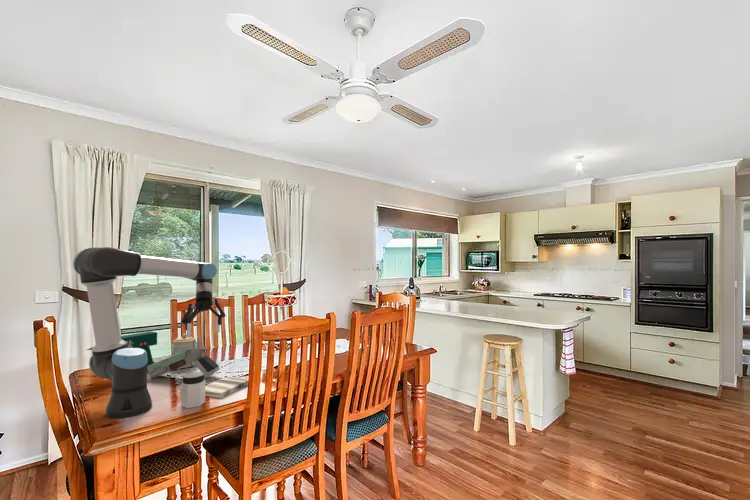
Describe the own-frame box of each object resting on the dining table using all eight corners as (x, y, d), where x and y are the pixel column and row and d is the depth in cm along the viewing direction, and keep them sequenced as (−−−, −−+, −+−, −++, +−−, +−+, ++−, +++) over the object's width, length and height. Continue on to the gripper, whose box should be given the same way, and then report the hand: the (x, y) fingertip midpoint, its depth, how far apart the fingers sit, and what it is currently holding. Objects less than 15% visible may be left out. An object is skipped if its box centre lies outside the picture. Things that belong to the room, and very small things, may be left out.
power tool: (88, 386, 173) (89, 343, 174) (81, 384, 177) (82, 342, 177) (158, 369, 200) (158, 332, 201) (151, 367, 204) (151, 331, 204)
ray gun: (216, 374, 183) (201, 336, 184) (156, 398, 183) (142, 360, 184) (222, 370, 190) (208, 333, 191) (165, 393, 191) (151, 357, 191)
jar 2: (209, 403, 153) (209, 373, 154) (190, 409, 146) (190, 379, 147) (196, 398, 158) (196, 370, 158) (177, 405, 151) (177, 375, 151)
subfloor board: (220, 398, 159) (220, 393, 159) (195, 394, 163) (195, 389, 163) (250, 383, 178) (250, 379, 178) (227, 380, 182) (227, 376, 182)
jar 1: (172, 363, 212) (173, 332, 212) (198, 361, 216) (198, 330, 217) (168, 369, 200) (169, 336, 200) (195, 367, 204) (195, 335, 204)
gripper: (231, 291, 191) (232, 331, 181) (182, 300, 189) (180, 341, 179) (226, 286, 184) (227, 327, 175) (175, 294, 182) (172, 337, 173)
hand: (203, 334), depth 177 cm, fingers open, 13 cm apart
